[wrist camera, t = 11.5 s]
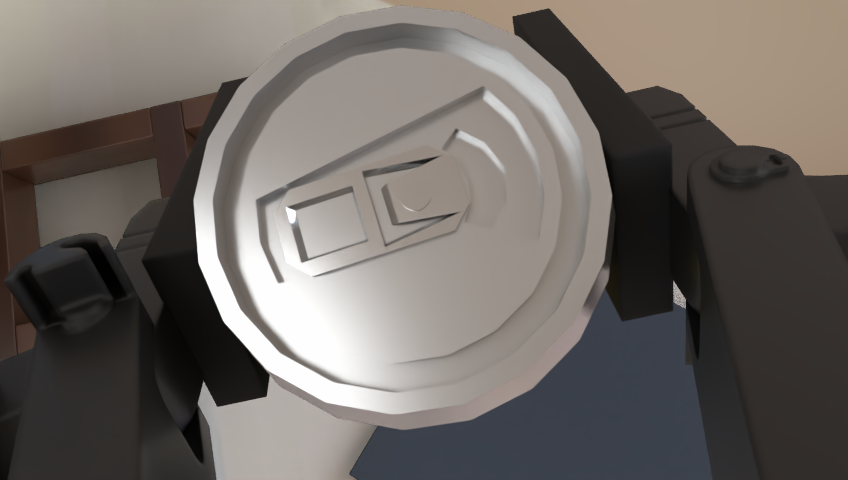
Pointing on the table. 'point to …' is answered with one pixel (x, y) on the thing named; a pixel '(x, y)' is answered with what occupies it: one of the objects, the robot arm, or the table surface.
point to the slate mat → (572, 417)
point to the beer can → (405, 217)
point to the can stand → (72, 155)
